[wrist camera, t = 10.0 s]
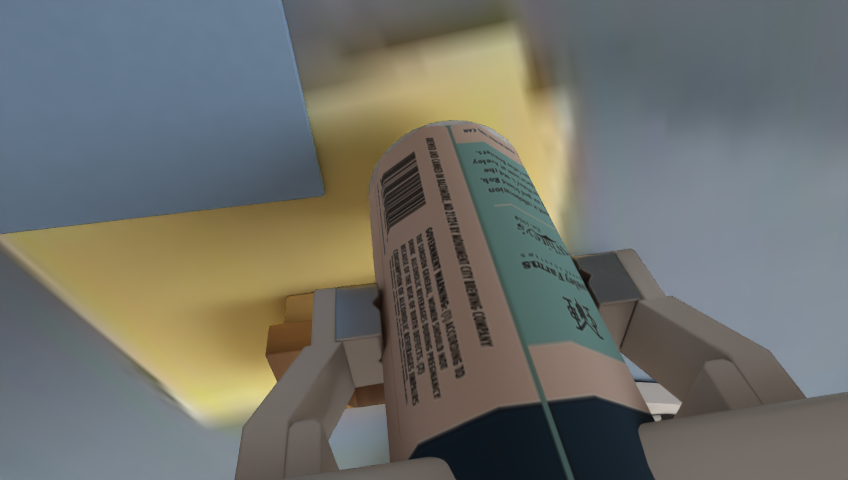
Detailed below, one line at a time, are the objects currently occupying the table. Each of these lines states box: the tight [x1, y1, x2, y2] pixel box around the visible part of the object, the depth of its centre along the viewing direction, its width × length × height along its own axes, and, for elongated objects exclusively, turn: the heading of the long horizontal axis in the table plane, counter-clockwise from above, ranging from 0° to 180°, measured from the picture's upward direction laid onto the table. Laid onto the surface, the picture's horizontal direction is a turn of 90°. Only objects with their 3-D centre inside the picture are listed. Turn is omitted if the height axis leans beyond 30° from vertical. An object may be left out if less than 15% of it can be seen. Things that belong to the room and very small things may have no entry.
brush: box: [265, 293, 620, 409], centre depth 20 cm, size 14×4×4 cm, turn 93°
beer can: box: [369, 120, 655, 480], centre depth 11 cm, size 5×5×12 cm
